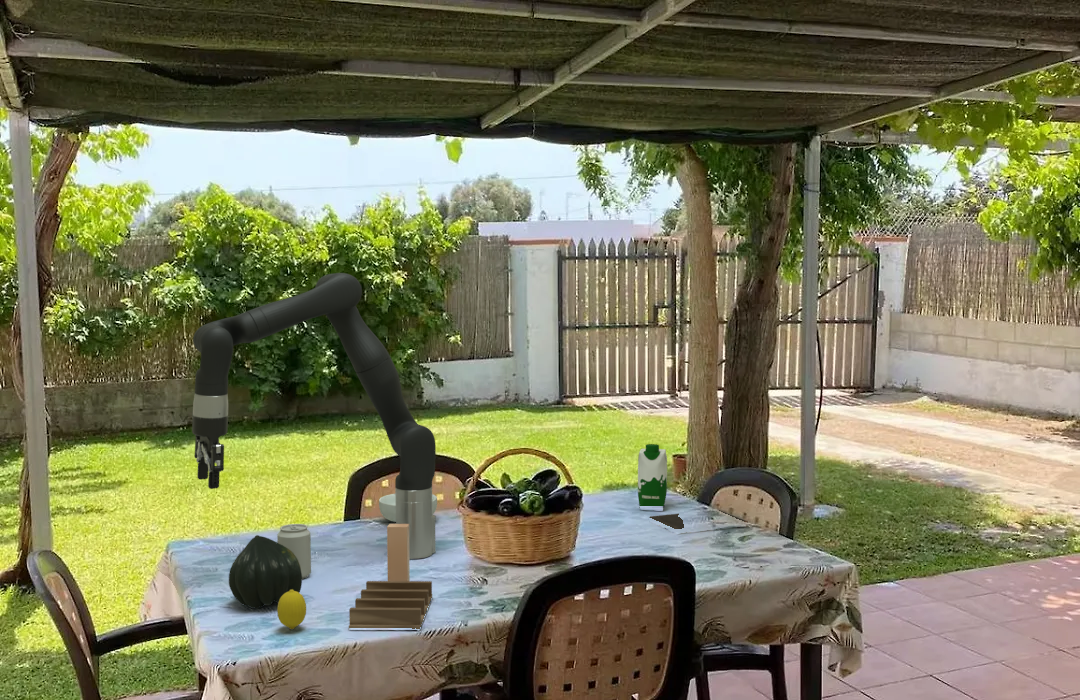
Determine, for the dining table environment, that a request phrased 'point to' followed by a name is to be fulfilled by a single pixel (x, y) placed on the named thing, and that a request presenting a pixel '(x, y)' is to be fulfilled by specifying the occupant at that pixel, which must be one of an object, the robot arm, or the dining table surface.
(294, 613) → the lemon
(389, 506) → the cereal bowl
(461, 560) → the dining table surface
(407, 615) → the drying rack
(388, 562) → the clay bar
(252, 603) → the squash
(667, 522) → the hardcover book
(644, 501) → the milk carton
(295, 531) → the can
